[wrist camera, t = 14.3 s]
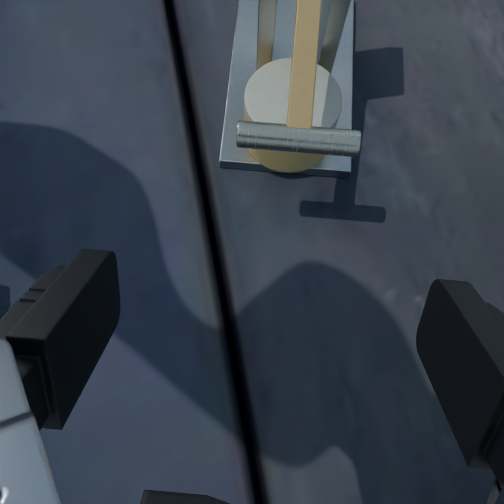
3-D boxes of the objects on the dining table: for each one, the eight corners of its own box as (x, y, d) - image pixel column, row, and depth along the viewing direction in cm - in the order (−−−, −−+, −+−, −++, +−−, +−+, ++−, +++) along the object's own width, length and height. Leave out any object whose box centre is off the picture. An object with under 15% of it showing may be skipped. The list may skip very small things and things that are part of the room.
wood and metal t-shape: (351, 163, 21) (363, 148, 18) (237, 154, 21) (235, 138, 19) (371, -111, 22) (385, -159, 19) (261, -119, 22) (262, -168, 19)
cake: (226, 129, 30) (223, 91, 27) (290, 83, 32) (297, 41, 28) (283, 189, 29) (289, 158, 25) (348, 139, 30) (363, 102, 26)
